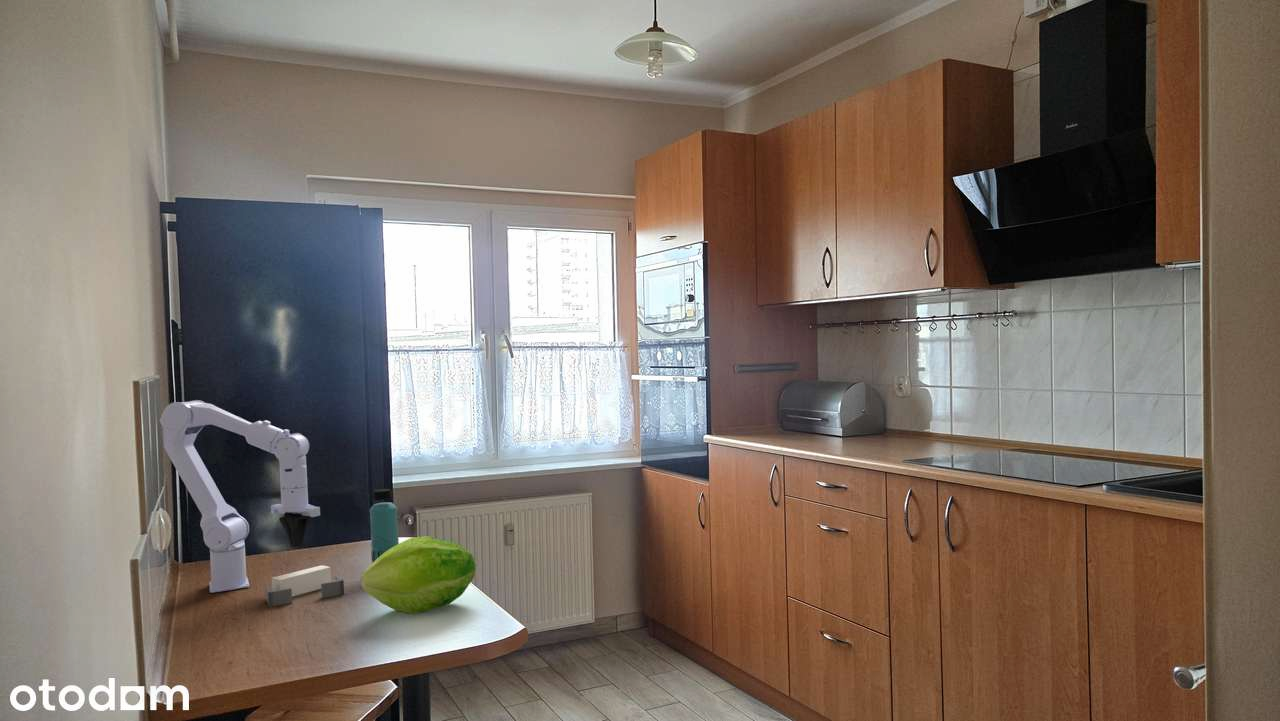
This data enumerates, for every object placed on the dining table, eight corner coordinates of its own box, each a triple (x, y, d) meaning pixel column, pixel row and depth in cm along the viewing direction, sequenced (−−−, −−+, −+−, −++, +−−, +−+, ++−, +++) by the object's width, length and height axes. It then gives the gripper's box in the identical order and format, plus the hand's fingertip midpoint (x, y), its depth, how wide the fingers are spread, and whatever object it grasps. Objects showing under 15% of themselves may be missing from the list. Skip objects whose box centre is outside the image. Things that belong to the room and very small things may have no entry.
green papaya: (374, 627, 154) (356, 617, 167) (490, 603, 165) (465, 596, 179) (368, 547, 155) (351, 544, 169) (484, 529, 167) (459, 528, 180)
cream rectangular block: (272, 598, 181) (271, 577, 181) (322, 584, 190) (321, 565, 190) (281, 600, 179) (280, 579, 179) (331, 586, 188) (330, 567, 188)
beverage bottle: (404, 569, 200) (401, 486, 200) (394, 577, 193) (390, 491, 193) (378, 570, 201) (375, 487, 201) (367, 577, 194) (363, 492, 194)
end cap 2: (318, 591, 184) (317, 578, 184) (339, 588, 186) (339, 574, 186) (322, 597, 179) (321, 584, 179) (344, 594, 181) (343, 580, 181)
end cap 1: (266, 600, 179) (265, 586, 179) (289, 596, 181) (288, 582, 181) (268, 606, 174) (268, 592, 173) (292, 603, 176) (291, 588, 176)
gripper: (258, 488, 191) (261, 547, 191) (300, 491, 184) (303, 552, 184) (284, 483, 197) (287, 540, 197) (326, 486, 190) (329, 545, 190)
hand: (296, 546), depth 191 cm, fingers closed
